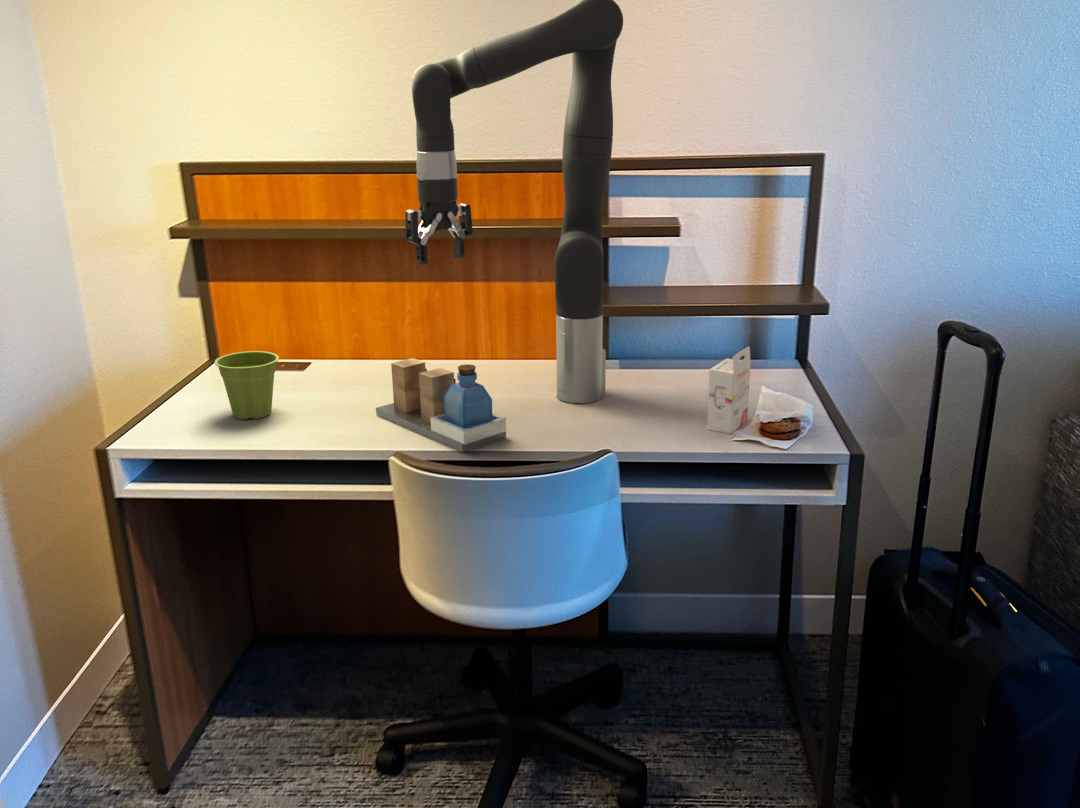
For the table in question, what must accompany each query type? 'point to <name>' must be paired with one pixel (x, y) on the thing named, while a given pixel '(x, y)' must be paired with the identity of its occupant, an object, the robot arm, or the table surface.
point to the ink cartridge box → (729, 393)
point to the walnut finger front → (434, 391)
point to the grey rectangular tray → (447, 428)
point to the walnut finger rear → (407, 384)
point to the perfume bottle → (467, 400)
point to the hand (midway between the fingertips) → (440, 261)
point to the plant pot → (249, 382)
